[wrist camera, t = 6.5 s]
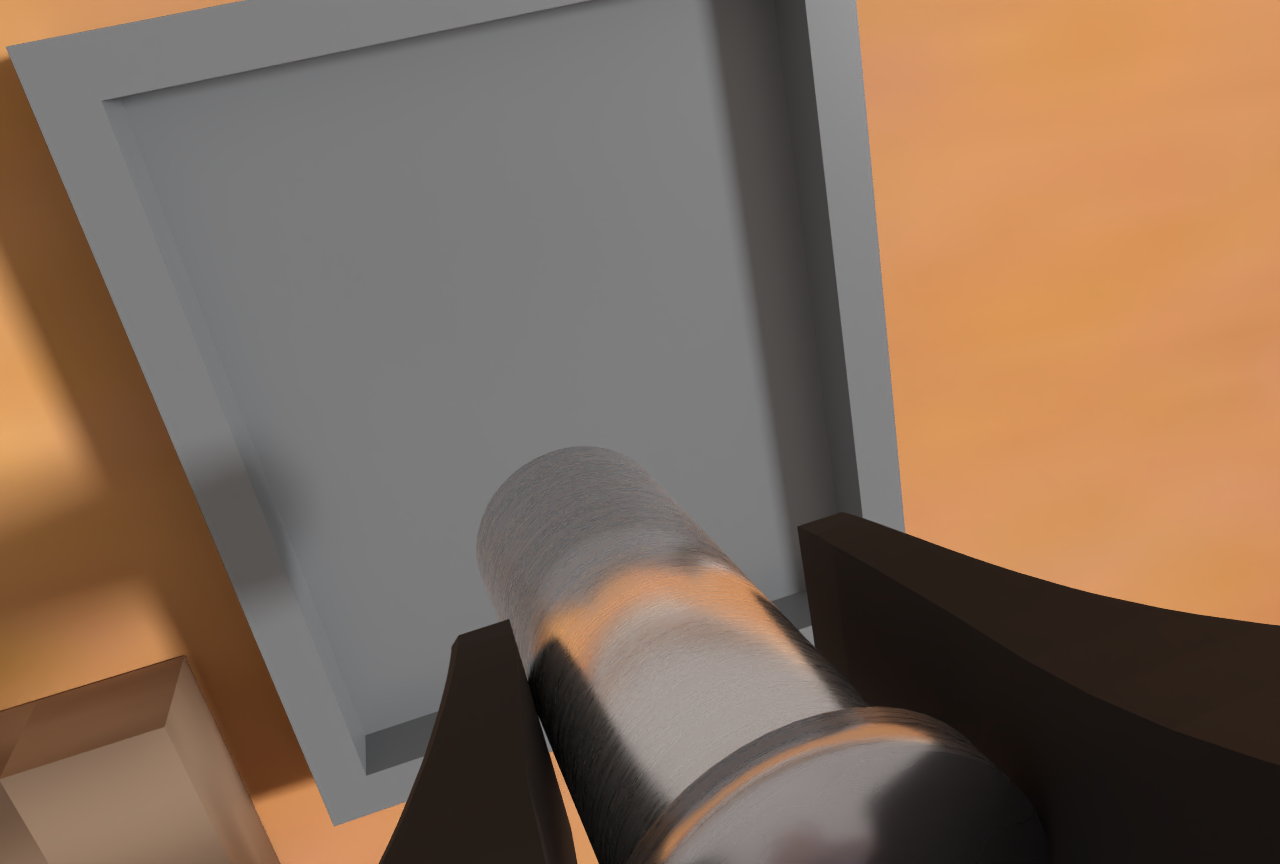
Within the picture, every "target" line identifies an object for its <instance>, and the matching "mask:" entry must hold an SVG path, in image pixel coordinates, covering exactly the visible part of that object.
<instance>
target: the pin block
mask: <svg viewBox="0 0 1280 864" xmlns="http://www.w3.org/2000/svg"><path fill="white" fill-rule="evenodd" d="M0 864H280V862H279V860H278V857H277V855H276V853H275V851H274V849H273V847H272V844H271V842H270V840H269V838H268V836H267V834H266V831H265V829H264V827H263V825H262V823H261V821H260V818H259V816H258V814H257V812H256V810H255V807H254V805H253V803H252V801H251V799H250V797H249V794H248V792H247V790H246V788H245V786H244V784H243V781H242V779H241V777H240V775H239V773H238V771H237V768H236V766H235V764H234V762H233V760H232V758H231V755H230V753H229V751H228V749H227V747H226V744H225V742H224V740H223V738H222V736H221V734H220V731H219V729H218V727H217V725H216V723H215V721H214V718H213V716H212V714H211V712H210V710H209V708H208V705H207V703H206V701H205V699H204V697H203V694H202V692H201V690H200V688H199V686H198V684H197V681H196V679H195V677H194V675H193V673H192V671H191V668H190V666H189V664H188V662H187V660H186V658H185V656H181V657H178V658H175V659H172V660H168V661H165V662H162V663H158V664H155V665H152V666H149V667H145V668H142V669H139V670H136V671H132V672H129V673H126V674H122V675H119V676H116V677H113V678H109V679H106V680H103V681H100V682H96V683H93V684H90V685H86V686H83V687H80V688H77V689H73V690H70V691H67V692H64V693H60V694H57V695H54V696H51V697H47V698H44V699H41V700H37V701H34V702H31V703H28V704H24V705H21V706H18V707H15V708H11V709H8V710H5V711H1V712H0Z"/></svg>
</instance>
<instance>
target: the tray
mask: <svg viewBox="0 0 1280 864" xmlns="http://www.w3.org/2000/svg"><path fill="white" fill-rule="evenodd" d="M6 49H7V51H8V54H9V56H10V58H11V61H12V63H13V65H14V68H15V70H16V73H17V75H18V77H19V80H20V82H21V84H22V87H23V89H24V92H25V94H26V96H27V99H28V101H29V103H30V106H31V108H32V111H33V113H34V115H35V118H36V120H37V122H38V125H39V127H40V130H41V132H42V134H43V137H44V139H45V141H46V144H47V146H48V149H49V151H50V153H51V156H52V158H53V160H54V163H55V165H56V168H57V170H58V172H59V175H60V177H61V179H62V182H63V184H64V187H65V189H66V191H67V194H68V196H69V198H70V201H71V203H72V206H73V208H74V210H75V213H76V215H77V217H78V220H79V222H80V225H81V227H82V229H83V232H84V234H85V236H86V239H87V241H88V244H89V246H90V248H91V251H92V253H93V255H94V258H95V260H96V263H97V265H98V267H99V270H100V272H101V274H102V277H103V279H104V282H105V284H106V286H107V289H108V291H109V293H110V296H111V298H112V301H113V303H114V305H115V308H116V310H117V312H118V315H119V317H120V320H121V322H122V324H123V327H124V329H125V331H126V334H127V336H128V339H129V341H130V343H131V346H132V348H133V350H134V353H135V355H136V357H137V360H138V362H139V365H140V367H141V369H142V372H143V374H144V376H145V379H146V381H147V384H148V386H149V388H150V391H151V393H152V395H153V398H154V400H155V403H156V405H157V407H158V410H159V412H160V414H161V417H162V419H163V422H164V424H165V426H166V429H167V431H168V433H169V436H170V438H171V441H172V443H173V445H174V448H175V450H176V452H177V455H178V457H179V460H180V462H181V464H182V467H183V469H184V471H185V474H186V476H187V479H188V481H189V483H190V486H191V488H192V490H193V493H194V495H195V498H196V500H197V502H198V505H199V507H200V509H201V512H202V514H203V517H204V519H205V521H206V524H207V526H208V528H209V531H210V533H211V536H212V538H213V540H214V543H215V545H216V547H217V550H218V552H219V555H220V557H221V559H222V562H223V564H224V566H225V569H226V571H227V574H228V576H229V578H230V581H231V583H232V585H233V588H234V590H235V593H236V595H237V597H238V600H239V602H240V604H241V607H242V609H243V612H244V614H245V616H246V619H247V621H248V623H249V626H250V628H251V631H252V633H253V635H254V638H255V640H256V642H257V645H258V647H259V650H260V652H261V654H262V657H263V659H264V661H265V664H266V666H267V669H268V671H269V673H270V676H271V678H272V680H273V683H274V685H275V688H276V690H277V692H278V695H279V697H280V699H281V702H282V704H283V707H284V709H285V711H286V714H287V716H288V718H289V721H290V723H291V726H292V728H293V730H294V733H295V735H296V737H297V740H298V742H299V745H300V747H301V749H302V752H303V754H304V756H305V759H306V761H307V764H308V766H309V768H310V771H311V773H312V775H313V778H314V780H315V783H316V785H317V787H318V790H319V792H320V794H321V797H322V799H323V802H324V804H325V806H326V809H327V811H328V813H329V816H330V818H331V821H332V823H333V825H334V826H337V825H340V824H343V823H345V822H348V821H351V820H354V819H357V818H360V817H363V816H366V815H369V814H372V813H375V812H377V811H380V810H383V809H386V808H389V807H392V806H395V805H398V804H401V803H404V802H406V801H407V799H408V797H409V794H410V792H411V789H412V787H413V784H414V782H415V779H416V777H417V774H418V772H419V769H420V766H421V764H422V761H423V758H424V755H425V752H426V749H427V746H428V743H429V739H430V736H431V733H432V730H433V727H434V724H435V720H436V717H437V714H438V711H439V707H440V703H441V699H442V695H443V691H444V688H445V683H446V679H447V674H448V669H449V663H450V657H451V647H452V645H453V643H454V642H455V640H456V639H457V637H458V635H461V634H464V633H467V632H470V631H473V630H476V629H479V628H482V627H486V626H489V625H492V624H495V623H498V622H499V619H498V617H497V614H496V612H495V610H494V607H493V605H492V602H491V600H490V597H489V595H488V593H487V590H486V588H485V585H484V583H483V580H482V578H481V575H480V571H479V568H478V562H477V555H476V543H477V536H478V530H479V526H480V523H481V519H482V517H483V514H484V512H485V510H486V507H487V505H488V504H489V502H490V500H491V499H492V497H493V495H494V494H495V493H496V491H497V490H498V489H499V488H500V486H501V485H502V484H503V483H504V482H505V481H506V480H507V479H508V478H509V477H510V476H511V475H512V474H513V473H514V472H516V471H517V470H518V469H519V468H521V467H522V466H523V465H525V464H527V463H528V462H530V461H532V460H533V459H535V458H537V457H539V456H542V455H544V454H546V453H549V452H552V451H555V450H558V449H563V448H568V447H577V446H593V447H601V448H606V449H610V450H613V451H616V452H619V453H621V454H623V455H625V456H627V457H629V458H631V459H633V460H634V461H635V462H637V463H638V464H640V465H641V466H642V467H643V468H644V469H645V470H646V471H647V472H648V473H649V474H650V475H651V476H652V477H653V478H654V479H655V480H656V481H657V482H658V483H659V484H660V486H661V487H662V488H663V489H664V490H665V491H666V492H667V493H668V494H669V495H670V496H671V497H672V498H673V499H674V500H675V501H676V502H677V503H678V504H679V505H680V507H681V508H682V509H683V510H684V511H685V512H686V513H687V514H688V515H689V516H690V517H691V518H692V519H693V520H694V521H695V522H696V523H697V524H698V525H699V526H700V527H701V529H702V530H703V531H704V532H705V533H706V534H707V535H708V536H709V537H710V538H711V539H712V540H713V541H714V542H715V543H716V544H717V545H718V546H719V547H720V548H721V549H722V551H723V552H724V553H725V554H726V555H727V556H728V557H729V558H730V559H731V560H732V561H733V562H734V563H735V564H736V565H737V566H738V567H739V568H740V569H741V570H742V572H743V573H744V574H745V575H746V576H747V577H748V578H749V579H750V580H751V581H752V582H753V583H754V584H755V585H756V586H757V587H758V588H759V589H760V590H761V591H762V592H763V594H764V595H765V596H766V597H767V598H768V599H769V600H770V601H771V602H772V603H773V604H774V605H775V606H776V607H777V608H778V609H779V610H780V611H781V612H782V613H783V614H784V616H785V617H786V618H787V619H788V620H789V621H790V622H791V623H792V624H793V625H794V626H795V627H796V628H797V629H798V630H799V631H800V632H801V633H802V634H803V635H804V637H805V638H806V639H807V640H808V641H809V642H810V643H811V644H812V645H813V646H814V647H815V644H814V638H813V631H812V624H811V617H810V610H809V604H808V597H807V590H806V583H805V577H804V570H803V563H802V556H801V550H800V543H799V536H798V529H797V526H800V525H803V524H806V523H809V522H812V521H815V520H818V519H821V518H825V517H828V516H831V515H834V514H837V513H840V512H845V513H848V514H852V515H855V516H858V517H861V518H864V519H867V520H870V521H873V522H876V523H879V524H881V525H884V526H887V527H890V528H892V529H895V530H898V531H900V532H903V533H905V526H904V515H903V504H902V493H901V482H900V471H899V461H898V450H897V439H896V428H895V417H894V406H893V396H892V385H891V374H890V363H889V352H888V341H887V331H886V320H885V309H884V298H883V287H882V276H881V266H880V255H879V244H878V233H877V222H876V211H875V201H874V190H873V179H872V168H871V157H870V146H869V136H868V125H867V114H866V103H865V92H864V81H863V71H862V60H861V49H860V38H859V27H858V16H857V6H856V0H245V1H240V2H234V3H229V4H224V5H219V6H214V7H209V8H203V9H198V10H193V11H188V12H183V13H178V14H172V15H167V16H162V17H157V18H152V19H147V20H141V21H136V22H131V23H126V24H121V25H116V26H110V27H105V28H100V29H95V30H90V31H85V32H79V33H74V34H69V35H64V36H59V37H54V38H48V39H43V40H38V41H33V42H28V43H23V44H17V45H12V46H7V47H6ZM538 717H539V716H538ZM539 721H540V719H539ZM540 724H541V721H540ZM541 727H542V731H543V734H544V737H545V741H546V744H547V747H548V751H549V752H552V748H551V746H550V743H549V741H548V738H547V736H546V734H545V731H544V729H543V726H542V724H541Z"/></svg>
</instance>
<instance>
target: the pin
mask: <svg viewBox="0 0 1280 864" xmlns="http://www.w3.org/2000/svg"><path fill="white" fill-rule="evenodd" d="M476 555H477V562H478V568H479V571H480V575H481V578H482V580H483V583H484V585H485V588H486V590H487V593H488V595H489V597H490V600H491V602H492V605H493V607H494V610H495V612H496V614H497V617H498V619H499V622H501V621H504V620H507V619H509V620H510V623H511V626H512V630H513V633H514V636H515V640H516V643H517V647H518V650H519V653H520V657H521V660H522V663H523V667H524V670H525V673H526V677H527V680H528V684H529V687H530V691H531V694H532V697H533V701H534V704H535V708H536V711H537V714H538V716H539V719H540V721H541V724H542V726H543V729H544V731H545V734H546V736H547V738H548V741H549V743H550V746H551V748H552V751H553V753H554V755H555V758H556V760H557V763H558V765H559V768H560V770H561V772H562V775H563V777H564V780H565V782H566V785H567V787H568V789H569V792H570V794H571V797H572V799H573V802H574V804H575V806H576V809H577V811H578V814H579V816H580V819H581V821H582V823H583V826H584V828H585V831H586V833H587V836H588V838H589V840H590V843H591V845H592V848H593V850H594V853H595V855H596V857H597V860H598V862H599V864H1049V851H1048V846H1047V842H1046V837H1045V832H1044V829H1043V827H1042V824H1041V822H1040V819H1039V817H1038V814H1037V812H1036V810H1035V809H1034V807H1033V806H1032V804H1031V803H1030V801H1029V800H1028V798H1027V797H1026V795H1025V794H1024V793H1023V792H1022V791H1021V790H1020V789H1019V788H1018V787H1017V786H1016V785H1015V784H1014V783H1013V782H1012V781H1011V780H1010V779H1009V778H1008V777H1007V776H1006V775H1005V774H1004V773H1003V772H1002V771H1001V770H999V769H998V768H997V767H996V766H995V765H994V764H993V763H992V762H991V761H990V760H989V759H988V758H987V757H986V756H985V755H984V754H983V753H982V752H980V751H979V750H978V749H977V748H976V747H975V746H974V745H973V744H972V743H971V742H970V741H969V740H968V739H967V738H966V737H965V736H964V735H962V734H961V733H959V732H958V731H956V730H955V729H954V728H952V727H951V726H949V725H948V724H946V723H944V722H942V721H940V720H937V719H935V718H933V717H930V716H928V715H926V714H922V713H918V712H914V711H910V710H906V709H900V708H889V707H871V706H870V705H869V704H868V703H867V701H866V700H865V699H864V698H863V697H862V696H861V695H860V694H859V693H858V692H857V691H856V690H855V689H854V688H853V687H852V686H851V685H850V684H849V683H848V682H847V681H846V679H845V678H844V677H843V676H842V675H841V674H840V673H839V672H838V671H837V670H836V669H835V668H834V667H833V666H832V665H831V664H830V663H829V662H828V661H827V660H826V659H825V657H824V656H823V655H822V654H821V653H820V652H819V651H818V650H817V649H816V648H815V647H814V646H813V645H812V644H811V643H810V642H809V641H808V640H807V639H806V638H805V637H804V635H803V634H802V633H801V632H800V631H799V630H798V629H797V628H796V627H795V626H794V625H793V624H792V623H791V622H790V621H789V620H788V619H787V618H786V617H785V616H784V614H783V613H782V612H781V611H780V610H779V609H778V608H777V607H776V606H775V605H774V604H773V603H772V602H771V601H770V600H769V599H768V598H767V597H766V596H765V595H764V594H763V592H762V591H761V590H760V589H759V588H758V587H757V586H756V585H755V584H754V583H753V582H752V581H751V580H750V579H749V578H748V577H747V576H746V575H745V574H744V573H743V572H742V570H741V569H740V568H739V567H738V566H737V565H736V564H735V563H734V562H733V561H732V560H731V559H730V558H729V557H728V556H727V555H726V554H725V553H724V552H723V551H722V549H721V548H720V547H719V546H718V545H717V544H716V543H715V542H714V541H713V540H712V539H711V538H710V537H709V536H708V535H707V534H706V533H705V532H704V531H703V530H702V529H701V527H700V526H699V525H698V524H697V523H696V522H695V521H694V520H693V519H692V518H691V517H690V516H689V515H688V514H687V513H686V512H685V511H684V510H683V509H682V508H681V507H680V505H679V504H678V503H677V502H676V501H675V500H674V499H673V498H672V497H671V496H670V495H669V494H668V493H667V492H666V491H665V490H664V489H663V488H662V487H661V486H660V484H659V483H658V482H657V481H656V480H655V479H654V478H653V477H652V476H651V475H650V474H649V473H648V472H647V471H646V470H645V469H644V468H643V467H642V466H641V465H640V464H638V463H637V462H635V461H634V460H633V459H631V458H629V457H627V456H625V455H623V454H621V453H619V452H616V451H613V450H610V449H606V448H601V447H593V446H577V447H568V448H563V449H558V450H555V451H552V452H549V453H546V454H544V455H542V456H539V457H537V458H535V459H533V460H532V461H530V462H528V463H527V464H525V465H523V466H522V467H521V468H519V469H518V470H517V471H516V472H514V473H513V474H512V475H511V476H510V477H509V478H508V479H507V480H506V481H505V482H504V483H503V484H502V485H501V486H500V488H499V489H498V490H497V491H496V493H495V494H494V495H493V497H492V499H491V500H490V502H489V504H488V505H487V507H486V510H485V512H484V514H483V517H482V519H481V523H480V526H479V530H478V536H477V543H476Z"/></svg>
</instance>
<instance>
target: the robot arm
mask: <svg viewBox="0 0 1280 864" xmlns="http://www.w3.org/2000/svg"><path fill="white" fill-rule="evenodd" d="M797 529H798V536H799V543H800V550H801V556H802V563H803V570H804V577H805V583H806V590H807V597H808V604H809V610H810V617H811V624H812V631H813V638H814V644H815V648H816V649H817V650H818V651H819V652H820V653H821V654H822V655H823V656H824V657H825V659H826V660H827V661H828V662H829V663H830V664H831V665H832V666H833V667H834V668H835V669H836V670H837V671H838V672H839V673H840V674H841V675H842V676H843V677H844V678H845V679H846V681H847V682H848V683H849V684H850V685H851V686H852V687H853V688H854V689H855V690H856V691H857V692H858V693H859V694H860V695H861V696H862V697H863V698H864V699H865V700H866V701H867V703H868V704H869V705H870V706H871V707H889V708H900V709H906V710H910V711H914V712H918V713H922V714H926V715H928V716H930V717H933V718H935V719H937V720H940V721H942V722H944V723H946V724H948V725H949V726H951V727H952V728H954V729H955V730H956V731H958V732H959V733H961V734H962V735H964V736H965V737H966V738H967V739H968V740H969V741H970V742H971V743H972V744H973V745H974V746H975V747H976V748H977V749H978V750H979V751H980V752H982V753H983V754H984V755H985V756H986V757H987V758H988V759H989V760H990V761H991V762H992V763H993V764H994V765H995V766H996V767H997V768H998V769H999V770H1001V771H1002V772H1003V773H1004V774H1005V775H1006V776H1007V777H1008V778H1009V779H1010V780H1011V781H1012V782H1013V783H1014V784H1015V785H1016V786H1017V787H1018V788H1019V789H1020V790H1021V791H1022V792H1023V793H1024V794H1025V795H1026V797H1027V798H1028V800H1029V801H1030V803H1031V804H1032V806H1033V807H1034V809H1035V810H1036V812H1037V814H1038V817H1039V819H1040V822H1041V824H1042V827H1043V829H1044V832H1045V837H1046V842H1047V846H1048V851H1049V864H1280V626H1279V625H1269V624H1261V623H1254V622H1247V621H1240V620H1233V619H1226V618H1218V617H1211V616H1204V615H1197V614H1191V613H1186V612H1180V611H1174V610H1168V609H1163V608H1158V607H1153V606H1148V605H1144V604H1139V603H1134V602H1130V601H1125V600H1120V599H1116V598H1111V597H1106V596H1102V595H1097V594H1093V593H1089V592H1085V591H1081V590H1077V589H1074V588H1070V587H1066V586H1063V585H1059V584H1056V583H1052V582H1049V581H1045V580H1042V579H1039V578H1035V577H1032V576H1028V575H1025V574H1021V573H1018V572H1015V571H1012V570H1009V569H1005V568H1002V567H999V566H996V565H993V564H990V563H987V562H984V561H981V560H978V559H975V558H972V557H969V556H966V555H964V554H961V553H958V552H955V551H952V550H949V549H947V548H944V547H941V546H938V545H936V544H933V543H930V542H927V541H925V540H922V539H919V538H917V537H914V536H911V535H908V534H906V533H903V532H900V531H898V530H895V529H892V528H890V527H887V526H884V525H881V524H879V523H876V522H873V521H870V520H867V519H864V518H861V517H858V516H855V515H852V514H848V513H845V512H840V513H837V514H834V515H831V516H828V517H825V518H821V519H818V520H815V521H812V522H809V523H806V524H803V525H800V526H797ZM379 864H577V859H576V853H575V848H574V842H573V837H572V831H571V827H570V823H569V820H568V816H567V813H566V810H565V806H564V803H563V799H562V796H561V792H560V789H559V785H558V782H557V778H556V775H555V771H554V768H553V765H552V761H551V758H550V754H549V751H548V747H547V744H546V741H545V737H544V734H543V731H542V727H541V724H540V721H539V717H538V714H537V711H536V708H535V704H534V701H533V697H532V694H531V691H530V687H529V684H528V680H527V677H526V673H525V670H524V667H523V663H522V660H521V657H520V653H519V650H518V647H517V643H516V640H515V636H514V633H513V630H512V626H511V623H510V620H509V619H507V620H504V621H501V622H498V623H495V624H492V625H489V626H486V627H482V628H479V629H476V630H473V631H470V632H467V633H464V634H461V635H458V637H457V639H456V640H455V642H454V643H453V645H452V647H451V657H450V663H449V669H448V674H447V679H446V683H445V688H444V691H443V695H442V699H441V703H440V707H439V711H438V714H437V717H436V720H435V724H434V727H433V730H432V733H431V736H430V739H429V743H428V746H427V749H426V752H425V755H424V758H423V761H422V764H421V766H420V769H419V772H418V774H417V777H416V779H415V782H414V784H413V787H412V789H411V792H410V794H409V797H408V799H407V802H406V804H405V807H404V809H403V812H402V814H401V817H400V819H399V821H398V824H397V826H396V828H395V830H394V833H393V835H392V837H391V839H390V841H389V844H388V846H387V848H386V850H385V852H384V854H383V856H382V858H381V860H380V862H379Z"/></svg>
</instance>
